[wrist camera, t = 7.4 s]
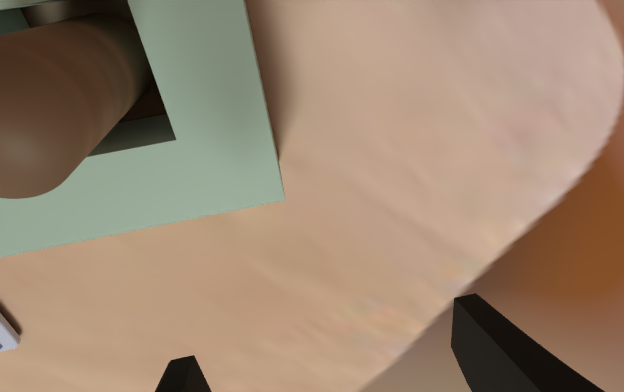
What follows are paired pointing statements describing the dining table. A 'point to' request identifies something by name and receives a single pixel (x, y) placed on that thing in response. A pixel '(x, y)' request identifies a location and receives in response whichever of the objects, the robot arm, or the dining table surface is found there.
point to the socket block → (164, 135)
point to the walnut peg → (64, 96)
